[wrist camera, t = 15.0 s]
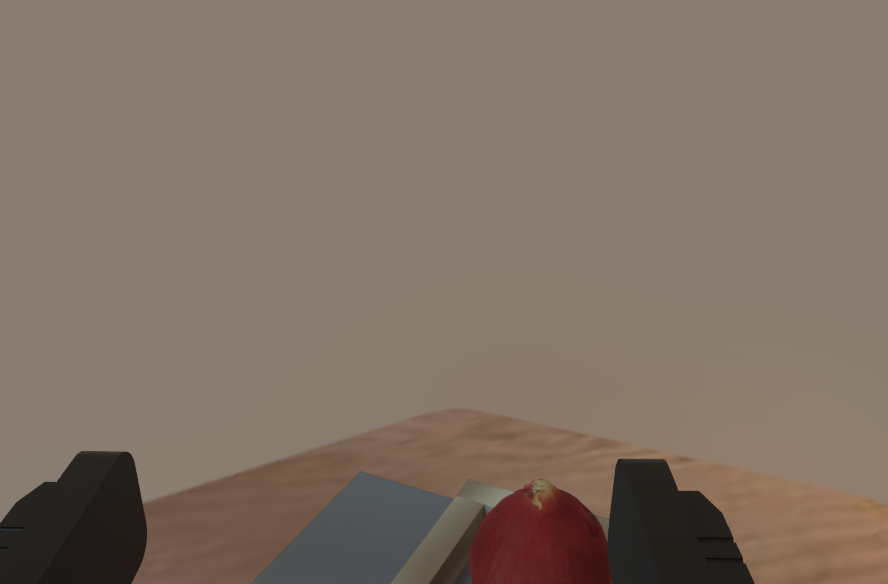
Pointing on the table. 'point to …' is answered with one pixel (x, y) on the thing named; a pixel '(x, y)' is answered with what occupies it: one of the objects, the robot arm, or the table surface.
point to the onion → (539, 541)
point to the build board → (361, 536)
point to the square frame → (455, 536)
